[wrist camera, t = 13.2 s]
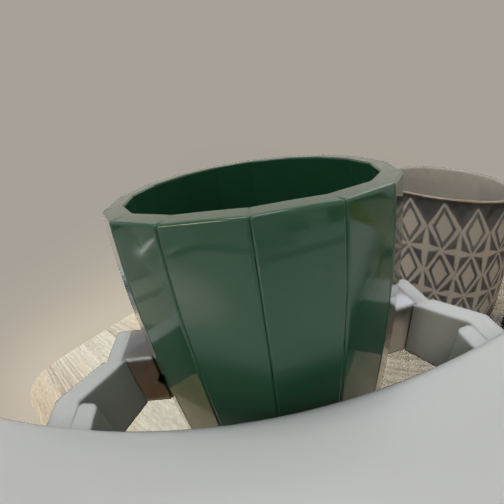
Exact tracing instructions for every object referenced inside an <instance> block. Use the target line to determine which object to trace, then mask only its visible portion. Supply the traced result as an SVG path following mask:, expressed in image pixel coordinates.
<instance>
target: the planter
mask: <svg viewBox="0 0 504 504" xmlns="http://www.w3.org/2000/svg"><path fill="white" fill-rule="evenodd" d="M396 168H398V169H399V170H401V171H402V173H403V229H402V248H401V262H400V274H399V280H401V279H405V280H407V281H408V282H409V283H410V284H412V285H413V286H414V287H415V288H416V289H417V290H418V291H419V292H421V293H422V294H423V295H424V296H425V297H426V298H427V299H428V300H431V299H434V300H437V301H441V302H444V303H448V304H451V305H454V306H458V307H461V308H465V309H468V310H472V311H475V312H479V313H482V314H486V315H488V316H489V315H490V313H491V312H492V310H493V308H494V305H495V302H496V299H497V296H498V293H499V290H500V286H501V283H502V279H503V276H504V182H503V181H501V180H498V179H496V178H493V177H490V176H487V175H483V174H479V173H475V172H470V171H465V170H459V169H451V168H443V167H429V166H427V167H426V166H407V167H396Z"/></svg>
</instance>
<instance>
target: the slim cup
mask: <svg viewBox="0 0 504 504" xmlns="http://www.w3.org/2000/svg"><path fill="white" fill-rule="evenodd" d="M103 217H104V221H105V224H106V228H107V232H108V235H109V238H110V242H111V245H112V248H113V251H114V255H115V258H116V261H117V264H118V267H119V270H120V273H121V276H122V279H123V282H124V285H125V287H126V291H127V293H128V296H129V299H130V301H131V304H132V307H133V309H134V312H135V315H136V317H137V320H138V322H139V325H140V327H141V330H142V332H143V335H144V337H145V339H146V342H147V344H148V346H149V349H150V351H151V353H152V356H153V358H154V360H155V362H156V364H157V367H158V369H159V371H160V373H161V375H162V377H163V379H164V382H165V384H166V386H167V388H168V390H169V392H170V394H171V396H172V398H173V400H174V402H175V404H176V406H177V407H178V409H179V411H180V413H181V415H182V417H183V419H184V421H185V422H186V424H187V426H188V428H189V429H199V428H209V427H218V426H226V425H233V424H240V423H247V422H253V421H259V420H264V419H270V418H275V417H280V416H285V415H290V414H294V413H299V412H303V411H307V410H311V409H315V408H319V407H323V406H327V405H330V404H334V403H337V402H341V401H344V400H348V399H351V398H354V397H358V396H361V395H364V394H367V393H370V392H373V391H376V390H379V389H381V385H382V381H383V376H384V372H385V367H386V362H387V357H388V352H389V346H390V341H391V335H392V329H393V323H394V316H395V309H396V301H397V293H398V284H399V274H400V262H401V248H402V229H403V173H402V171H401V170H399V169H398V168H396V167H394V166H393V165H391V164H389V163H387V162H384V161H379V160H374V159H369V158H363V157H355V156H339V155H306V156H305V155H303V156H285V157H274V158H264V159H255V160H247V161H241V162H235V163H229V164H223V165H218V166H213V167H209V168H204V169H200V170H196V171H192V172H187V173H184V174H180V175H177V176H173V177H170V178H166V179H164V180H160V181H157V182H155V183H152V184H149V185H146V186H143V187H141V188H139V189H137V190H134V191H132V192H130V193H128V194H126V195H124V196H122V197H120V198H118V199H117V200H116V201H114V203H112V204H111V205H110V206H109V207H108V208H107V209H106V210H105V211H104V212H103Z"/></svg>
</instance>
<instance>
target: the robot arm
mask: <svg viewBox="0 0 504 504" xmlns="http://www.w3.org/2000/svg"><path fill="white" fill-rule="evenodd" d="M403 349H405V350H406V351H408V352H410V353H412V354H414V355H416V356H417V357H419V358H421V359H423V360H425V361H427V362H429V363H431V364H432V365H434V366H436V367H435V368H432V369H430V370H428V371H426V372H423V373H421V374H418V375H416V376H414V377H411V378H409V379H406V380H403V381H401V382H398V383H396V384H393V385H390V386H387V387H385V388H382V389H379V390H376V391H373V392H370V393H367V394H364V395H361V396H358V397H354V398H351V399H348V400H344V401H341V402H337V403H334V404H330V405H327V406H323V407H319V408H315V409H311V410H307V411H303V412H299V413H294V414H290V415H285V416H280V417H275V418H270V419H264V420H259V421H253V422H247V423H240V424H233V425H226V426H218V427H209V428H199V429H187V430H172V431H145V432H125V431H126V430H127V428H128V427H129V426H130V425H131V423H132V422H133V421H134V419H135V418H136V417H137V415H138V414H139V413H140V412H141V410H142V409H143V408H144V406H145V405H146V404H147V401H151V400H162V399H172V396H171V394H170V392H169V390H168V388H167V386H166V384H165V382H164V379H163V377H162V375H161V373H160V371H159V369H158V367H157V364H156V362H155V360H154V358H153V356H152V353H151V351H150V349H149V346H148V344H147V342H146V339H145V337H144V335H143V332H142V330H134V331H124V332H120V333H118V335H117V337H116V340H115V342H114V345H113V348H112V350H111V353H110V356H109V358H108V361H107V363H102V364H101V365H100V366H99V367H97V368H96V369H95V370H94V371H93V372H91V373H90V374H89V375H88V376H86V377H85V378H84V379H83V380H82V381H80V382H79V383H78V384H77V385H75V386H74V387H73V388H72V389H71V390H69V391H68V392H67V393H66V394H65V395H63V396H62V397H61V398H60V399H58V400H57V401H56V404H55V406H54V409H53V411H52V414H51V416H50V419H49V421H48V424H47V426H44V425H37V424H30V423H24V422H19V421H13V420H9V419H4V418H0V504H504V330H503V329H502V328H501V327H500V326H499V325H498V324H497V323H495V322H494V321H493V320H492V319H491V318H490V317H489V316H488V315H486V314H482V313H479V312H475V311H472V310H468V309H465V308H461V307H458V306H454V305H451V304H448V303H444V302H441V301H437V300H434V299H431V300H428V299H427V298H426V297H425V296H424V295H423V294H422V293H421V292H419V291H418V290H417V289H416V288H415V287H414V286H413V285H412V284H410V283H409V282H408V281H407V280H405V279H401V280H399V284H398V293H397V301H396V309H395V316H394V323H393V329H392V335H391V341H390V346H389V352H388V354H390V353H393V352H396V351H399V350H403Z"/></svg>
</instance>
